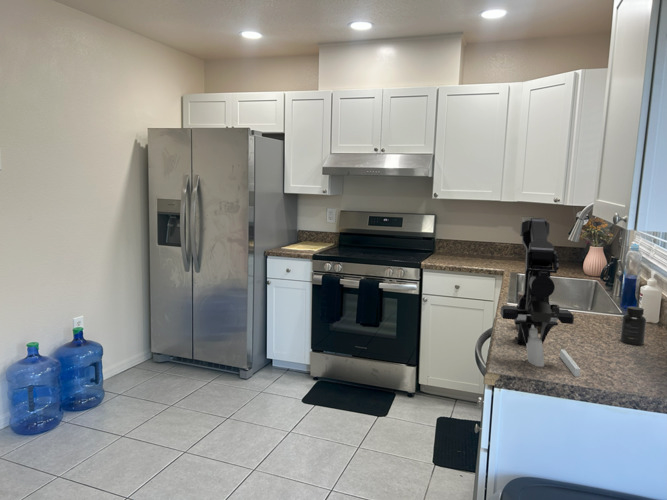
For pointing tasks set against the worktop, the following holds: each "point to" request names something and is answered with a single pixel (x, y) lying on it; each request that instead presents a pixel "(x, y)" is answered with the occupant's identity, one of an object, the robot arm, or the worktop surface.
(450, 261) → the worktop surface
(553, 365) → the worktop surface
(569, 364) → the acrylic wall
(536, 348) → the eye dropper bottle
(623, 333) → the supplement bottle
